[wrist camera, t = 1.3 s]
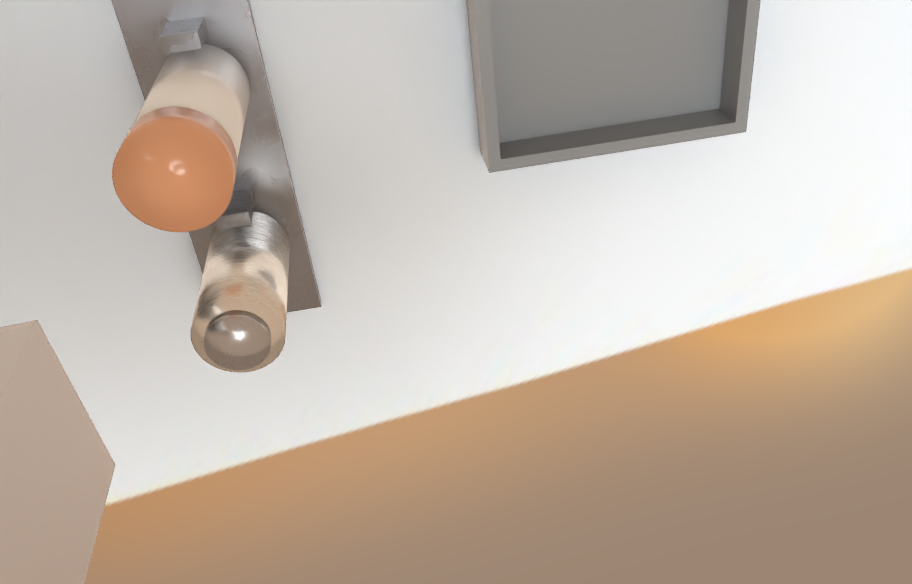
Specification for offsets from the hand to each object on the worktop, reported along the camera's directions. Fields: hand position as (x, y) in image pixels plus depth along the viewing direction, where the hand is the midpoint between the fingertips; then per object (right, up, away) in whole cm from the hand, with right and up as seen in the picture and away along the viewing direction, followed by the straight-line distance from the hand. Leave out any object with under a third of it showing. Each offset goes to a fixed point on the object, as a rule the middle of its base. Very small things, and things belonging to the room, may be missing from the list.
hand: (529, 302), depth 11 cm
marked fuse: (-13, +10, +25) cm, 30 cm away
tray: (+6, +14, +26) cm, 30 cm away
